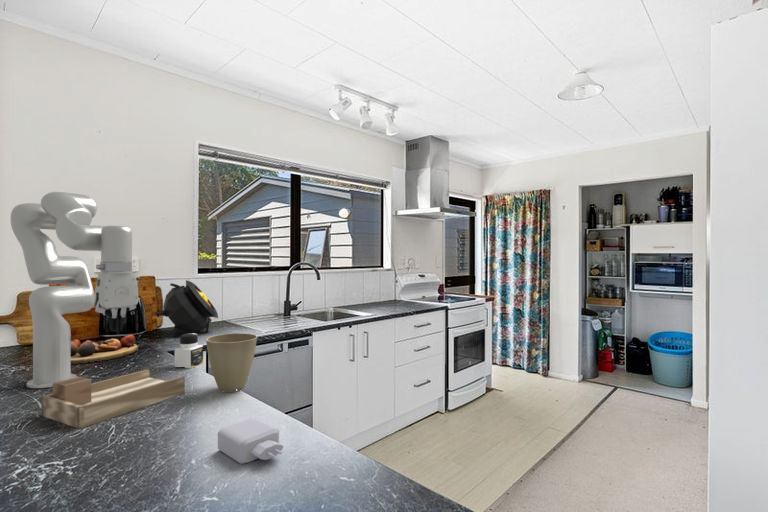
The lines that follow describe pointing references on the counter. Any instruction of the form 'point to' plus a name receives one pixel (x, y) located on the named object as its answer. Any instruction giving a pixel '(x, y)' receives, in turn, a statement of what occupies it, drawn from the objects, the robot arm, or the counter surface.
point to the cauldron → (188, 308)
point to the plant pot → (231, 359)
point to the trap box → (113, 399)
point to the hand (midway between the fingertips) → (116, 331)
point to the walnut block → (73, 390)
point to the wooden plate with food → (101, 349)
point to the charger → (249, 441)
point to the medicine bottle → (189, 351)
